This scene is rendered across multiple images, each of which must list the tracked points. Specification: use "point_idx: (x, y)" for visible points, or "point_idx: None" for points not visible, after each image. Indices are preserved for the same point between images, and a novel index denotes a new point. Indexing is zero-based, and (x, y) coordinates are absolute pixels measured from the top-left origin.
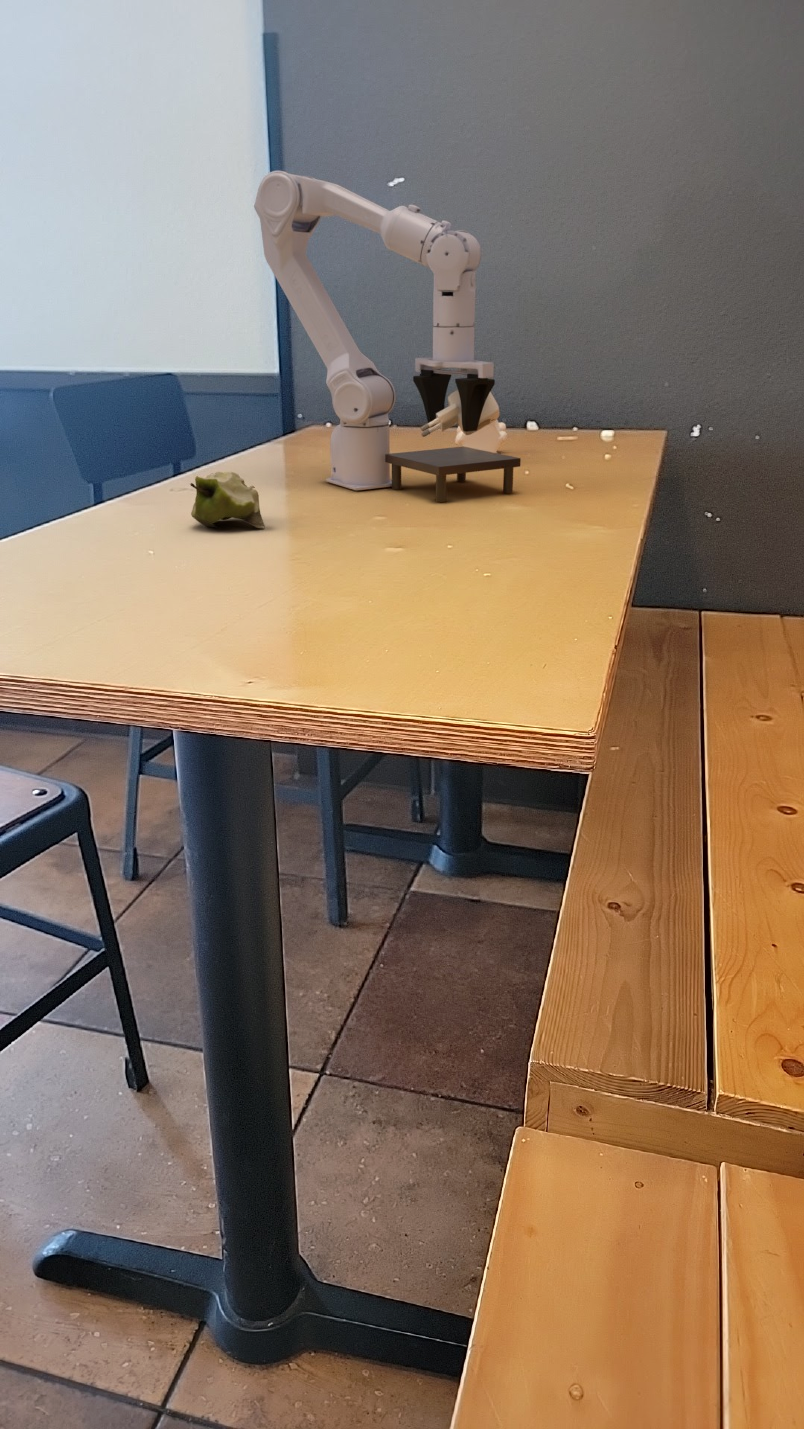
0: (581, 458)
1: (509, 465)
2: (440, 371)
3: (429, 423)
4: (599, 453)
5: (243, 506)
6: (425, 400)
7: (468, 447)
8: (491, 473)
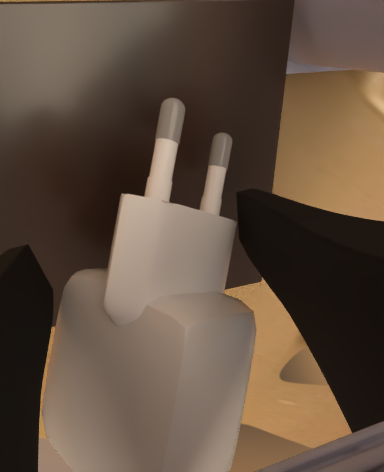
0: (267, 415)
1: None
2: (359, 454)
3: (161, 147)
4: (279, 433)
5: None
6: (313, 221)
7: (241, 285)
8: (253, 300)
